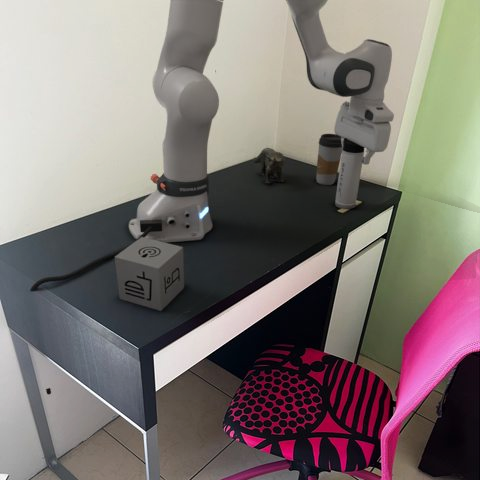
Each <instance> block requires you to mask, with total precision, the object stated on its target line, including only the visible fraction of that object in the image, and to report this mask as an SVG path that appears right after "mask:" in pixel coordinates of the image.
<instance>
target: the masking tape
mask: <svg viewBox="0 0 480 480" xmlns="http://www.w3.org/2000/svg"><path fill="white" fill-rule="evenodd" d="M360 204H362V201H360V200H357V199H356V205H355V207H356V206H358V205H360ZM347 211H350V209H342V208H339V209H338V210H337V212H338V213H342V214H344V213H346V212H347Z"/></svg>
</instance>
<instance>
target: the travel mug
mask: <svg viewBox="0 0 480 480" xmlns="http://www.w3.org/2000/svg"><path fill="white" fill-rule="evenodd" d="M365 149H366V148H365V147H363V146H360V145H358V144H356V143H354V142H352V141H350V140H347V138H345V139H344V143H343V149H342V154H341V159H340V163H339V170H338V171H339V172H338V180H337V185H336V194H335V201H334V205H335V207H337V208H339V209H341V208H342V209H349V210H351V209H352V210H353V209H354V208H356V206H357V205H356V200H357V199H358V194H359V193H358V192H359V186H360V182H361V181H360V180H361V174H362V167H363V163H361V161H362V157H365ZM355 205H356V206H355Z"/></svg>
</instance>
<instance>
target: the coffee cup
mask: <svg viewBox="0 0 480 480" xmlns="http://www.w3.org/2000/svg"><path fill="white" fill-rule="evenodd" d="M341 138H342V137H341V136H339V135H337V134H335V133H323V134H321V135H320V137H319V138H318V139H319V140H318V153H317V163H316V183H318V184H319V185H323V186H324V185H325V186H331V185H333V184H335V182H336V179H337V174H338V173H339V172H338V171H339V169H340V164H341V156H342V148H343V147H342V143H341Z"/></svg>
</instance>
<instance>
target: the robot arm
mask: <svg viewBox="0 0 480 480" xmlns="http://www.w3.org/2000/svg"><path fill="white" fill-rule="evenodd" d="M285 1H286V4H287V7H288V9H289V12H290V15H291V19H292V22H293V25H294V29H295V31H296V32H297V37H298V39H299V42H300V45H301V47H302V50H303V53H304V56H305V62H306V65H305V66H306V76H307V79H308V82H309V83H310V85H311V86H312V87H313V88H314V89H316V90H320V91H324V92H328V93H330V94H332V95H335V96H338V97H341V98H349V97H350V99H349V101H344V102H343V103H342V104H341V105H340V108H339V111H338V113H337V115H336V119H335V123H334V127H333V131H334V134H337V135H339V136H341V137H342V138H341V143H342V147H343V143H344V139H345V138H347V140H350V141H352V142H354V143H356V144H358V145H360V146H363V147H365V148H364V149H366V150H365V153H366V154H364V156H363V157H362V161H361V163H362V165H366V166H367V165H369V164H370V162H371V158H372V157H374V155H375V154H376V153H382V152H384V151H386V149H387V148H388V145H389V141H390V137H391V133H392V132H391V131H392V125H391V122H393V120H394V118H395V113H394V112H393V111H392V110H391V109H390V108H389V107H388V106H387V104H385V102H384V100H385V89H386V86H387V84H388V81H389V77H390V71H391V67H392V60H393V50H392V47H391V46H390V45H389V44H388V43H387V42H382V41H378V40H374V39H372V38H371V39H370V38H368V39H364V40H363V41H362V43H361V44H360V45H358V46H357V47H355V48H354V49H352V50H350V51H348V52H345V53H343V52H340V51H338V50H336V49H334V48H333V47H332V46H331V45H330V44H329V42H328V40H327V36H326V34H325V30H324V28H323V25H322V21H321V18H320V10H322V9H323V8H324V7H325V5H326V4H327V3H328V1H329V0H285ZM223 6H224V0H170V2H169V9H168V18H167V26H166V32H165V36H164V41H163V43H162V47H161V51H160V55H159V59H158V63H157V68H156V70H155V71H154V74H153V76H152V90H153V94H154V97H155V99H156V100H157V102H158V104H159V105H161V107H162V108H164V109H165V112H166V125H165V126H166V127H165V133H164V138H163V140H162V145H161V146H162V165H163V167H162V168H163V172H162V175H160V176H159V175H158V174H156V173H153V174H151V176H150V180H151V182H152V183H153V184H156V189H155V190H154V191H153V192H152V193H151V194H149V195H148V196H147V197H146V198H145V199H143V200H142V201H140V203H139V204H138V207H137V210H136V218H132V219H130V221H129V222H128V230H129V233H130V234H131V236H132V237H133V238H134V239H135V240H134V241H133V242H131V243H130V244H128V245H127V246H124V247H123V248H121V249H119V250H117V251H114V252H111V253H108V254H105V255H103V256H101V257H99V258H96V259H94V260H92V261H90V262H89V263H87V264H85V265H83V266H81V267H79V268H78V269H75V270H74V271H72V272H69V273H67V274H63V275H56V276H48V277H43V278H41V279H39V280H37V281H36V282H35V283H34V284H33V285H32V286H31V288H30V289H29V292H35V291H36V290H37V289H38V288H39V287H40V286H41V285H43V284H45V283H51V282H60V281H65V280H69V279H71V278H74V277H75V276H77V275H80V274H81V273H84V272H85V271H88V270H89V269H90V268H92V267H94V266H96V265H98V264H100V263H102V262H104V261H106V260H109V259H111V258H115V256H116V255H118V254H119V253H121V252H122V251H123V250H125V249H126V248H127V247H129V246H130V245H132V244H133V243H134V242H136V241H137V240H138V239H140V238H141V237H144V238H148V239H152V240H156V241H160V242H164V243H176V242H177V243H178V242H190V241H201V240H203V239H204V237H205V235H206V234H207V233H209V232H210V231H211V230H212V228H213V225H214V223H213V222H212V218H211V214H210V208H209V197H208V195H209V191H210V181H209V180H210V179H209V177H210V175H209V173H208V145H209V144H208V143H209V138H210V133H211V128H212V123H213V120H214V119H215V117H216V116H217V113H218V111H219V106H220V98H219V93H218V91H217V89H216V88H215V85H214V84H213V83H212V81H211V80H210V78H208V77H207V76H206V75H205V74H204V71H205V68H206V65H207V62H208V59H209V56H210V55H211V52H212V50H213V49H214V48H215V46H216V44H217V42H218V37H219V30H220V24H221V18H222V14H223V13H222V12H223ZM342 149H343V148H342ZM45 392H46V394H47V395H51V394H52V389H51V387H47V388H45Z"/></svg>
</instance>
